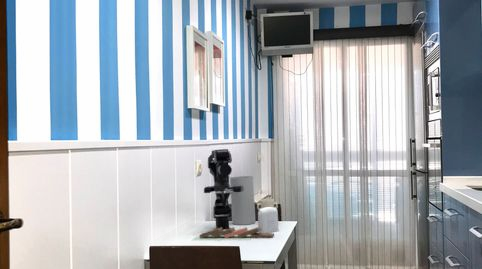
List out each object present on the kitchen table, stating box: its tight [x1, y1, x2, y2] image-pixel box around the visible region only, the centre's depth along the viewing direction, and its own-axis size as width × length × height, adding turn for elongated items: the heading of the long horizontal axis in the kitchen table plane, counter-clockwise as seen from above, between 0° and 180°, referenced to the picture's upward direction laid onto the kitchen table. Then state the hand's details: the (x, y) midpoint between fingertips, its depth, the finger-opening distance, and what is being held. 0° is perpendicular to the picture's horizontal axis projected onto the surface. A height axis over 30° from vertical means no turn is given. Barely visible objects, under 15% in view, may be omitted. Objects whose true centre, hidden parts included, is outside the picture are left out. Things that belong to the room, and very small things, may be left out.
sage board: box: [191, 235, 253, 241], centre depth 235 cm, size 28×13×1 cm, turn 76°
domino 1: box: [198, 227, 223, 238], centre depth 237 cm, size 2×5×10 cm
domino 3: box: [238, 227, 261, 238], centre depth 232 cm, size 2×5×10 cm
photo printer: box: [257, 206, 279, 233], centre depth 243 cm, size 10×4×12 cm, turn 123°
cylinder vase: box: [229, 175, 256, 226], centre depth 275 cm, size 12×12×25 cm
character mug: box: [256, 198, 279, 211], centre depth 267 cm, size 11×7×13 cm, turn 95°
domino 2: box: [211, 226, 236, 238], centre depth 235 cm, size 2×5×10 cm
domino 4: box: [250, 232, 275, 239], centre depth 231 cm, size 2×5×10 cm
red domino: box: [224, 226, 248, 238], centre depth 234 cm, size 2×5×10 cm
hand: (224, 206), depth 247 cm, fingers closed
